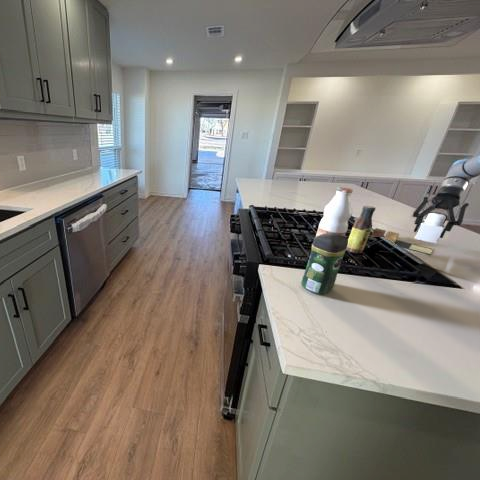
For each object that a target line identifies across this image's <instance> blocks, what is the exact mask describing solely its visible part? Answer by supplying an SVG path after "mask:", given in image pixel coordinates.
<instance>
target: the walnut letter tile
mask: <svg viewBox="0 0 480 480" xmlns="http://www.w3.org/2000/svg"><path fill="white" fill-rule="evenodd" d="M386 233H387V230H385V229H383V228H382V229H381V228H378V227H376V228H374V229H373V231H372V233H371V235H370V236H371V238H372V237H385V235H386ZM375 239H376V238H375Z"/></svg>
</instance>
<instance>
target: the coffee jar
mask: <svg viewBox="0 0 480 480" xmlns="http://www.w3.org/2000/svg"><path fill="white" fill-rule="evenodd" d="M347 245H348V238H347V237H346V235H345V236H342V235H339V234H336V233H333V232H332V233H327V234H322V235H319V236H316V235H315V236H314V238H313V241H312V244H311V250H310V255H309V257H308V261H307V264H306V268H305V270H304V273H303V276H302V279H301V282H300V285H301V286H302V287H303V288H304V289H305V290H306V291H308V292H310V293H313V294H317V295H324V294H327V293H329V292H331V291H332V290H333V289H334V287H335V283H336V281H337V278H338V277H337V276H338V273H339V270H340V267H341V264H342V261H343V258H344V256H345V253H346V251H347V250H346V248H347Z"/></svg>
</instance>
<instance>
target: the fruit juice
mask: <svg viewBox="0 0 480 480" xmlns="http://www.w3.org/2000/svg"><path fill="white" fill-rule="evenodd" d="M353 191H354V190H353V189H352V188H350V187H342V186H340V187H337V188H336V191H335V192H336V193H335V195H334V196H333V198H332V199H331V200H330V201H329V203H328V204H326V206H324V209H323V217H322V218H321V219H320V221H319V223H318V228H317V231H316V234H315V237H316V236H319V235H322V234H327V233H332V232H333V233H336V234H339V235H342V236H345V237H346V234H347V231H348V228H349V220H350V218H351V217H352V215H353V208H352V204H351V195H352V194H353Z"/></svg>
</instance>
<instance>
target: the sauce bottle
mask: <svg viewBox="0 0 480 480" xmlns="http://www.w3.org/2000/svg"><path fill="white" fill-rule="evenodd" d="M375 211H376V207H375V206H373V205H372V206H371V205H363V206H362V210H361V213H360V216H359V217H357V218H356V219H355V220H354V223H353V226H352V227H351V230H350V233H349V235H348V238H347V240H348V245H347V248H346V251H347V252H350V253H353V254H362V253H363V252H364V250H365V247H366V245H367V241H368V240H369V239H368V238H369V237H370V234H371V231H372V229H373V215H374V212H375Z"/></svg>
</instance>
